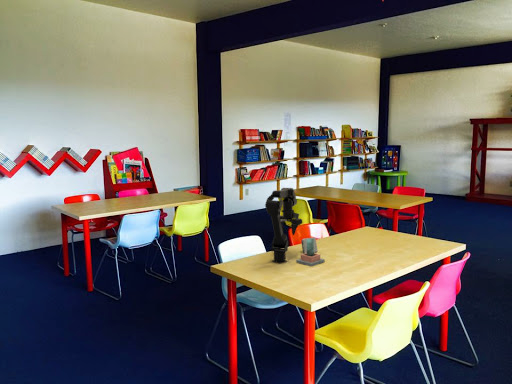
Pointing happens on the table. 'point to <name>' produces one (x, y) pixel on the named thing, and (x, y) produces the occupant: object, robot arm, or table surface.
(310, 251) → the peg
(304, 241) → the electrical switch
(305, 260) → the socket plate
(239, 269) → the table surface
